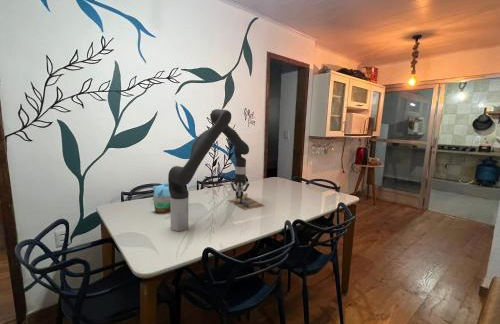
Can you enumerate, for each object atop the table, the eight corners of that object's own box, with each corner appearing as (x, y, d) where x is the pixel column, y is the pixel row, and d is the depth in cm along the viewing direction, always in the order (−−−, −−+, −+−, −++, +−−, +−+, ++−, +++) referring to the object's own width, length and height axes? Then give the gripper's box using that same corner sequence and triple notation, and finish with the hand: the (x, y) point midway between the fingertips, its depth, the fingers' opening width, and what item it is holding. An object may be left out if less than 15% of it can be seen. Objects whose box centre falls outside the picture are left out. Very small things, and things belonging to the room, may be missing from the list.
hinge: (230, 200, 177) (230, 195, 176) (246, 198, 185) (246, 193, 184) (244, 208, 162) (245, 202, 161) (261, 205, 170) (261, 200, 169)
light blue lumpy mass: (180, 204, 167) (180, 185, 165) (155, 207, 160) (155, 187, 158) (175, 196, 183) (175, 179, 181) (152, 199, 176) (151, 180, 174)
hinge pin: (242, 201, 173) (243, 187, 171) (238, 202, 171) (239, 187, 169) (239, 200, 176) (240, 185, 174) (235, 201, 174) (236, 186, 172)
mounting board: (227, 202, 177) (227, 200, 177) (247, 198, 188) (247, 197, 187) (243, 211, 160) (244, 210, 159) (265, 207, 170) (265, 205, 170)
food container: (151, 214, 147) (151, 198, 146) (152, 211, 153) (152, 195, 151) (172, 213, 150) (172, 198, 149) (173, 210, 156) (173, 195, 155)
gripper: (250, 172, 174) (248, 195, 177) (230, 171, 173) (229, 194, 176) (250, 174, 167) (249, 198, 170) (230, 173, 166) (229, 198, 169)
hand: (239, 196), depth 173 cm, fingers closed on hinge pin, 2 cm apart
